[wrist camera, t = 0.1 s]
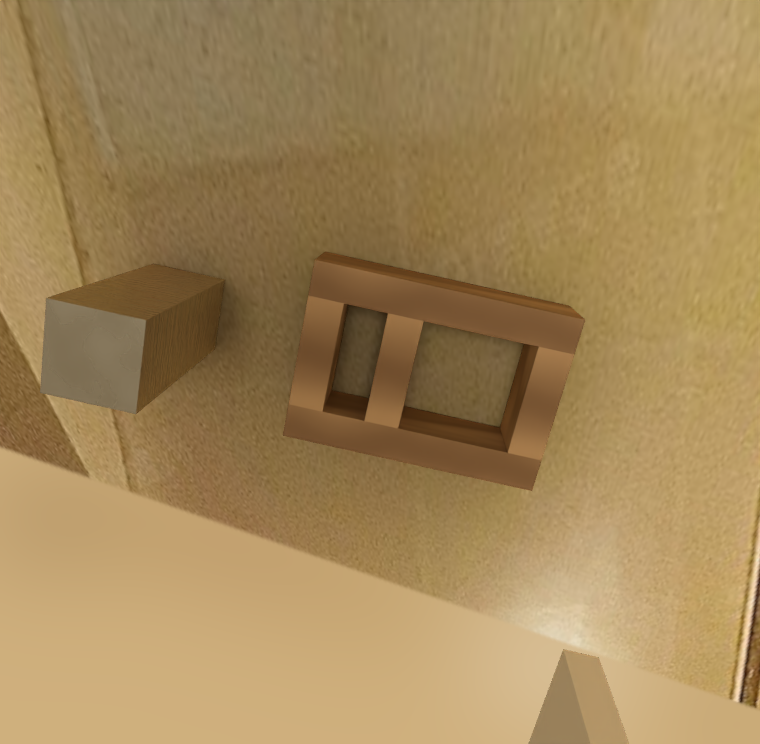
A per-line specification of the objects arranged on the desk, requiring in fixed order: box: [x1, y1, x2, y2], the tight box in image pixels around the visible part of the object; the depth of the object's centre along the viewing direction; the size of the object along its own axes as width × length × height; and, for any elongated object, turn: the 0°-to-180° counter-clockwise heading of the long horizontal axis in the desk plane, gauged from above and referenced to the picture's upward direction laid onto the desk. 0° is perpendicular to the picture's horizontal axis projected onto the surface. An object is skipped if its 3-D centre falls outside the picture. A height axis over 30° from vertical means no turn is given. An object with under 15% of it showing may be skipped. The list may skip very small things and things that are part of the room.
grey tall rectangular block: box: [40, 264, 225, 414], centre depth 35 cm, size 4×4×12 cm
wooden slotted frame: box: [283, 252, 585, 491], centre depth 39 cm, size 10×15×4 cm
